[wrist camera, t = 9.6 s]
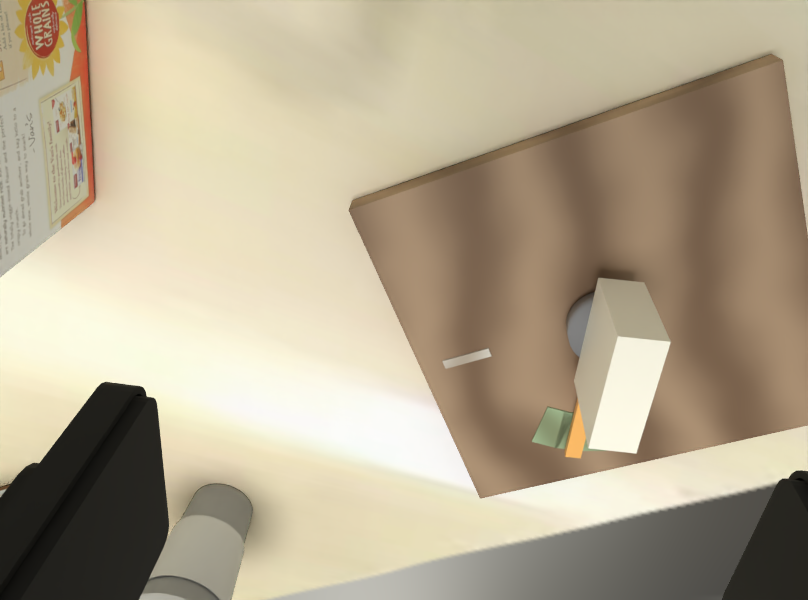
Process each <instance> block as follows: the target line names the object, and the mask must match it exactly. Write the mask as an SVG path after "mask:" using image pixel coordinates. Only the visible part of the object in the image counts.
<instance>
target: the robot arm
mask: <svg viewBox="0 0 808 600" xmlns="http://www.w3.org/2000/svg"><path fill="white" fill-rule="evenodd" d="M168 529H169V518H168V508H167V498H166V489H165V479H164V469H163V459H162V449H161V439H160V429H159V419H158V409H157V403H156V400H155V399H154V398H151V397H147V396H146V391H145V390H144V388H143V387H140V386H133V385H125V384H118V383H110V382H104V383H101V384H100V385H99V386H98V387H97V389H96V390H95V391H94V392H93V394H92V395H91V396H90V398H89V399H88V400H87V402H86V403H85V404H84V406H83V407H82V408H81V410H80V411H79V412H78V413H77V415H76V416H75V417H74V419H73V420H72V421H71V423H70V424H69V425H68V427H67V428H66V429H65V431H64V432H63V433H62V434H61V436H60V437H59V438H58V440H57V441H56V442H55V444H54V445H53V446H52V448H51V449H50V450H49V451H48V453H47V454H46V455H45V457H44V458H43V459H42V461H41V462H40V463H32V464H30V465H28V466H26V467H25V468H24V469H23V470H22V471H21V472H20V473H19V474H18V475H17V477H16V478H15V479H14V481H13V482H12V483H11V484H10V486H9V487H8V488H7V489H6V491H5V492H4V493H3V495H2V496H1V497H0V600H139V599H140V596H141V594H142V592H143V590H144V588H145V586H146V584H147V582H148V580H149V577H150V575H151V573H152V571H153V569H154V567H155V565H156V563H157V561H158V558H159V556H160V554H161V552H162V550H163V548H164V545H165V543H166V539H167V535H168ZM722 600H808V471H795V472H794V473H792V474H791V476H790V477H789V479H782V480H780V481H779V482H778V484H777V485H776V487H775V489H774V491H773V494H772V496H771V498H770V500H769V502H768V504H767V506H766V508H765V510H764V512H763V514H762V516H761V518H760V521H759V522H758V524H757V527H756V529H755V531H754V533H753V535H752V537H751V539H750V541H749V543H748V545H747V547H746V550H745V551H744V553H743V555H742V558H741V560H740V562H739V564H738V566H737V568H736V570H735V572H734V574H733V576H732V578H731V580H730V582H729V584H728V586H727V588H726V590H725V593H724V595H723V598H722Z"/></svg>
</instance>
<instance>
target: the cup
mask: <svg viewBox="0 0 808 600" xmlns="http://www.w3.org/2000/svg"><path fill="white" fill-rule="evenodd" d="M251 516H252V505H251V503H250V501H249V499H248V498H247V497H246V496H245V495H244V494H243V493H242V492H240V491H239V490H237V489H235V488H233V487H231V486H228V485H223V484H210V485H207V486H204V487H202V488H200V489H199V490H198V491H197V492H196V493H195V495H194V497H193V498H192V500H191V502H190V504H189V505H188V507H187V509H186V511H185V512H184V514H183V516H182V518H181V519H180V521H179V522H177V523H176V525H175V526H174V528H173V529H172V531H171V533H170V534H169V536H168V538H167V540H166V543H165V545H164V548H163V550H162V552H161V554H160V556H159V558H158V561H157V563H156V565H155V567H154V569H153V571H152V573H151V575H150V577H149V580H148V582H147V584H146V586H145V588H144V590H143V592H142V594H141V596H140V599H139V600H231V599H232V595H233V592H234V588H235V584H236V580H237V576H238V573H239V569H240V565H241V561H242V557H243V554H244V542H245V539H246V535H247V531H248V527H249V524H250V520H251Z"/></svg>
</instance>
